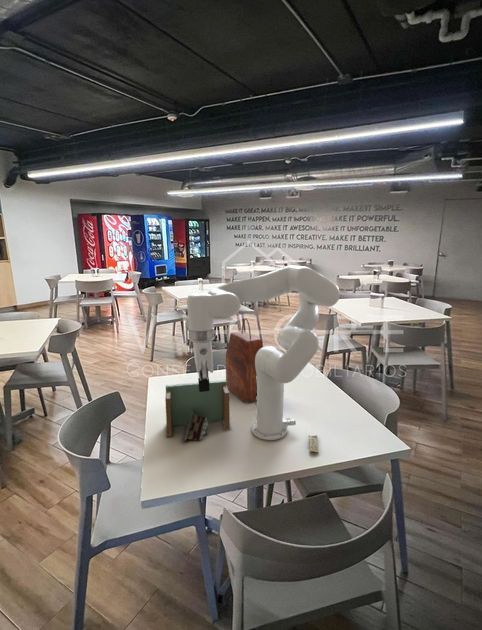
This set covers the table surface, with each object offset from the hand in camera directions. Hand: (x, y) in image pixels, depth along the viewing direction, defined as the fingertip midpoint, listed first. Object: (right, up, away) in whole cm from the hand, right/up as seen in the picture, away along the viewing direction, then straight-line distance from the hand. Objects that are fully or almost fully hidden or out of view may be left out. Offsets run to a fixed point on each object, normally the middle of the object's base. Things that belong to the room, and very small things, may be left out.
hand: (204, 390), depth 105 cm
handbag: (+11, -12, +47) cm, 50 cm away
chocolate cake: (-5, -19, +14) cm, 24 cm away
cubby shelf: (-5, -18, +18) cm, 26 cm away
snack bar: (+36, -21, +8) cm, 42 cm away
